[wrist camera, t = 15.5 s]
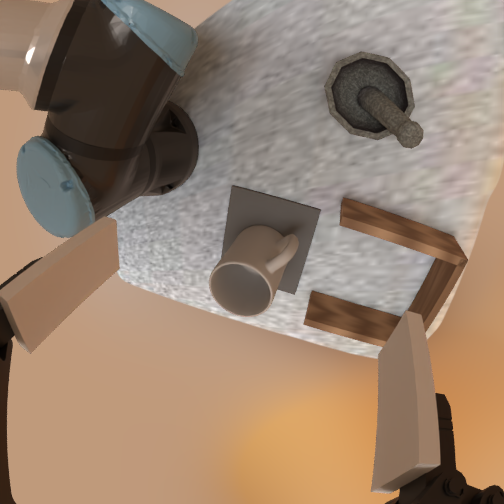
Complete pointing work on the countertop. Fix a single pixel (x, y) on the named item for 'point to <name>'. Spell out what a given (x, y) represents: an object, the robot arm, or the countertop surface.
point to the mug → (252, 270)
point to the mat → (272, 226)
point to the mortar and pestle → (373, 99)
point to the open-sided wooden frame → (427, 299)
